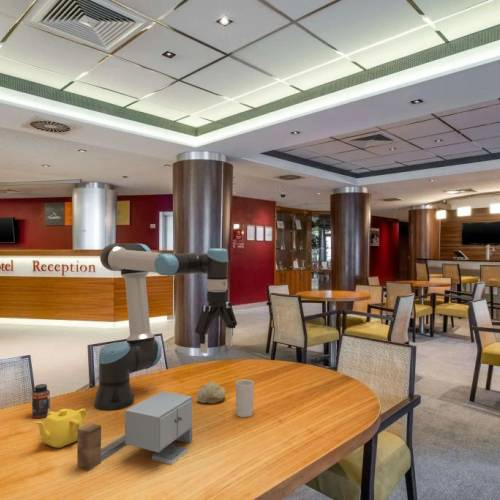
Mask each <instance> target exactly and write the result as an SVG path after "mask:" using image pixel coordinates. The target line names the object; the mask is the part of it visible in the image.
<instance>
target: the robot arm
mask: <svg viewBox="0 0 500 500" xmlns="http://www.w3.org/2000/svg"><path fill="white" fill-rule="evenodd" d="M99 259H100V263H101V265H102V267H103V268H105V269H106V270H109V271H112V272H120V276H121V277H122V278H124V280H125V282H124V284H125V291H126V293H125V294H126V305H127V306H126V308H127V317H128V328H129V329H128V330H129V336H128V337H127V338H126V341H119V342H112V343H108V344H106V345H104V346H102V347H101V348H100V350H99V355H98V378H99V379H98V387H97V391H96V394H95V398H94V399H93V401H94V407H95V408H96V409H98V410H103V411H113V410H114V411H115V410H121V409H124V408H127V407H128V408H129V406H130V407H131V405H133V404H134V403H135V395H134V393H133V390H132V387H131V383H130V374H132V373H135V372H139V371H144V370H148V369H150V368H152V367H155V366H156V365H157V364H158V363H159V362H160V361H161V357H162V352H163V351H162V346H161V344H160V341H159V340H158V339H156V338H155V334H153V333H152V332H151V325H150V324H151V323H150V312H149V302H148V300H149V299H148V292H147V280H146V277H147V276H148V274H149V273H156V274H158V275H159V276H170V277H171V276H175V275H188V274H189V275H191V274H192V275H193V274H206V290H208V291H207V292H206V301H207V302H208V305H202V306H201V312H200V315H199V318H198V322H197V324H196V328H195V330H194V333H196V334H197V335H198V334H199V343H200V353H202V354H208V348H209V346H208V341H209V340H208V339H209V337H208V335H209V334H207V332H208V330H209V329H210V326H211V325H212V322H213V321H214V319H216V318H218V317H221V319H222V320H223V322H224V324H225V325H226V327H225V346H231V347H232V346H233V335H234V329H235V328H237V327H236V326H237V325H238V321H237V319H236V317H235V311H234V310H233V304H232V302H231V301H229V300H228V297H229V296H228V293H229V292H228V278H229V276H228V271H229V252H228V249H226V248H210V247H209V248H207V251H206V253H197V252H189V253H169V252H168V253H167V252H156V251H155V252H154V251H152V250H151V248H150V247H149V246H148V245H146V244H143V243H138V242H134V243H133V242H132V243H131V242H129V243H115V242H114V243H111V244H108V245H106V246H105V247H103V249H102V250H101V252H100V255H99Z"/></svg>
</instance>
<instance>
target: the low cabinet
mask: <svg viewBox="0 0 500 500" xmlns="http://www.w3.org/2000/svg"><path fill="white" fill-rule="evenodd" d="M124 435H125V444H127V445H126V446H132V447H134V448H135V447H136V448H139V449H143V450H144V449H145V450H148V451H151V452H154V453H156V452H159V451H161V450H162V449H164V448H165V447H166V446H168V445H169V444H172V443H174V441H178V442H183V443H188V444H191V442H192V443H193V396H192V395H191V396H190V395H187V394H186V395H185V394H179V393H174V392H169V391H162V390H161V391H160V392H157V393H156V394H154V395H152V396H150V397H148V398H146V399H144V400H142V401H141V402H139V403H136V404H134V405H133V406H130V407H128V408H127V409H125V411H124Z"/></svg>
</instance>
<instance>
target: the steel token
mask: <svg viewBox="0 0 500 500" xmlns="http://www.w3.org/2000/svg"><path fill="white" fill-rule="evenodd" d="M187 453H188V448H187V447H183V446H178V445H174V444H172V443H170V444H169V445H168V446H166V447H165V448H164V449H162V450H161V451H159V452H154V454H152V456H151V461H154V460H156V461H155V462H158V461H160V462H159V463H162V462H163V463H162V464H166V463H167V464H166V465H169V464H172V465H173V463H174V462H175V461H176V462H177V461H178V459H179V458H180V457H181V458H182V457H184V456H185V455H186V454H187ZM184 454H185V455H184ZM183 455H184V456H183ZM181 458H180V459H181ZM180 459H179V460H180ZM176 462H175V463H176ZM175 463H174V464H175Z"/></svg>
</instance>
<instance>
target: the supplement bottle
mask: <svg viewBox="0 0 500 500" xmlns="http://www.w3.org/2000/svg"><path fill="white" fill-rule="evenodd" d="M50 398H51V392H50V390H49V389H48V385H47V383H40V384H37V385H35V386H34V391H33V392H32V395H31V417H32V418H33V419H43V417H44V418H46V417H47V413H48V412H50V411H51V399H50Z"/></svg>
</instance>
